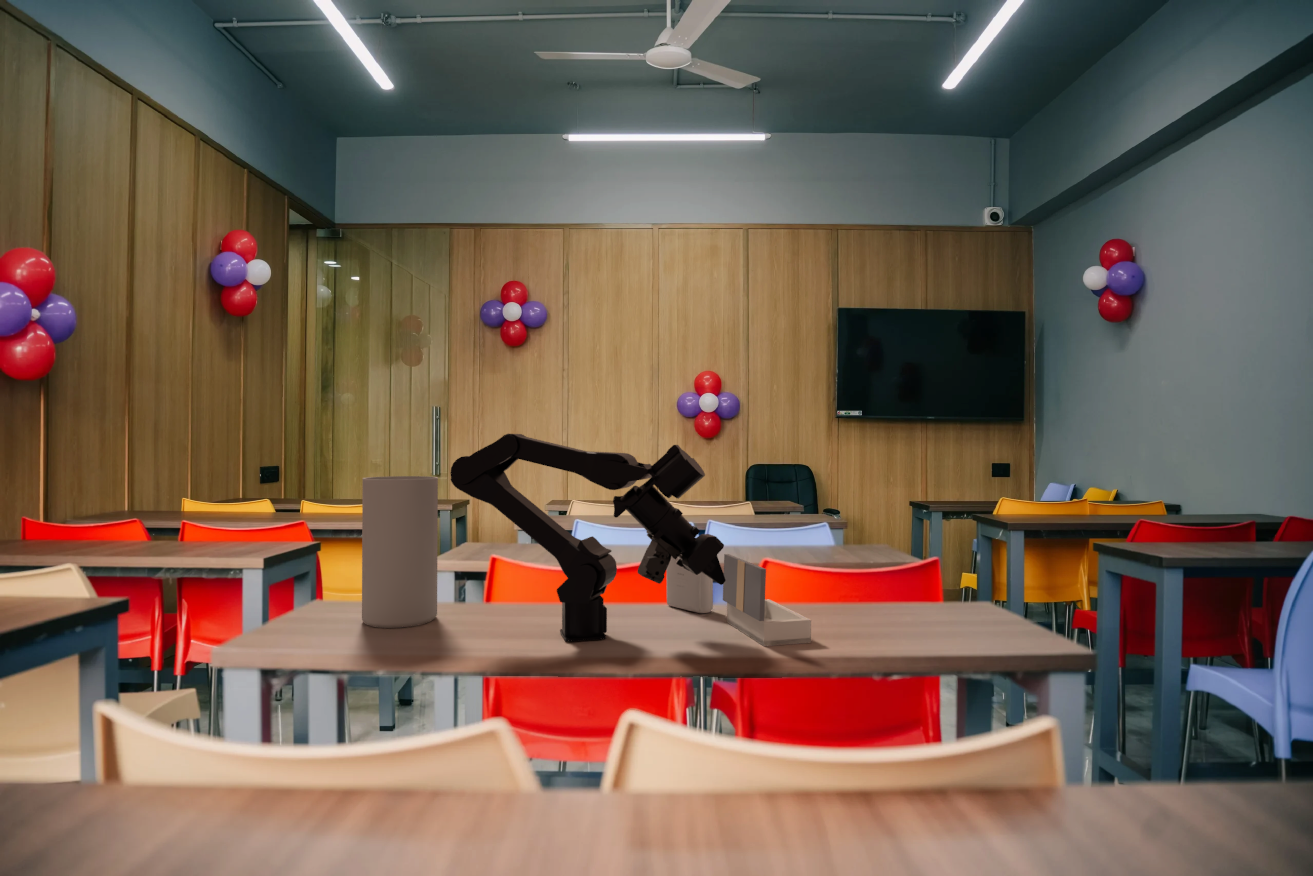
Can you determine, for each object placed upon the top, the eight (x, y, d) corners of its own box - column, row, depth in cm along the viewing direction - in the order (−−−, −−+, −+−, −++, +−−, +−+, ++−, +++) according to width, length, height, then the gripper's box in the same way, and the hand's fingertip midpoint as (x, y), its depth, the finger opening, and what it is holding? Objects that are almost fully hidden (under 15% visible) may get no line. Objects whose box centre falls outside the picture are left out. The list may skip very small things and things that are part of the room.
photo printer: (663, 605, 146) (663, 541, 146) (679, 602, 149) (680, 539, 149) (699, 615, 138) (699, 547, 138) (716, 612, 141) (716, 545, 141)
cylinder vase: (390, 610, 141) (391, 475, 141) (450, 614, 138) (451, 476, 138) (346, 626, 129) (346, 478, 129) (410, 631, 126) (411, 480, 126)
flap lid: (764, 621, 117) (758, 621, 117) (726, 600, 133) (722, 600, 132) (766, 569, 117) (760, 569, 117) (728, 554, 133) (723, 554, 133)
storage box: (764, 646, 117) (764, 623, 117) (726, 622, 133) (726, 601, 133) (811, 642, 119) (811, 619, 119) (769, 619, 135) (769, 599, 135)
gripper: (610, 545, 128) (673, 607, 131) (636, 562, 110) (708, 634, 113) (656, 498, 130) (716, 560, 133) (688, 507, 112) (757, 578, 115)
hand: (723, 582), depth 124 cm, fingers closed
